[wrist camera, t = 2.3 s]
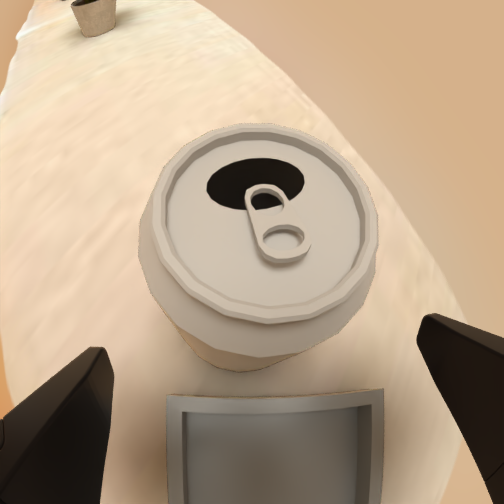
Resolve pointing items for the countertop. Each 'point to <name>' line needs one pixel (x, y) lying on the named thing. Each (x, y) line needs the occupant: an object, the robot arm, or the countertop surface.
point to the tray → (275, 449)
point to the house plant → (94, 16)
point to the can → (258, 244)
